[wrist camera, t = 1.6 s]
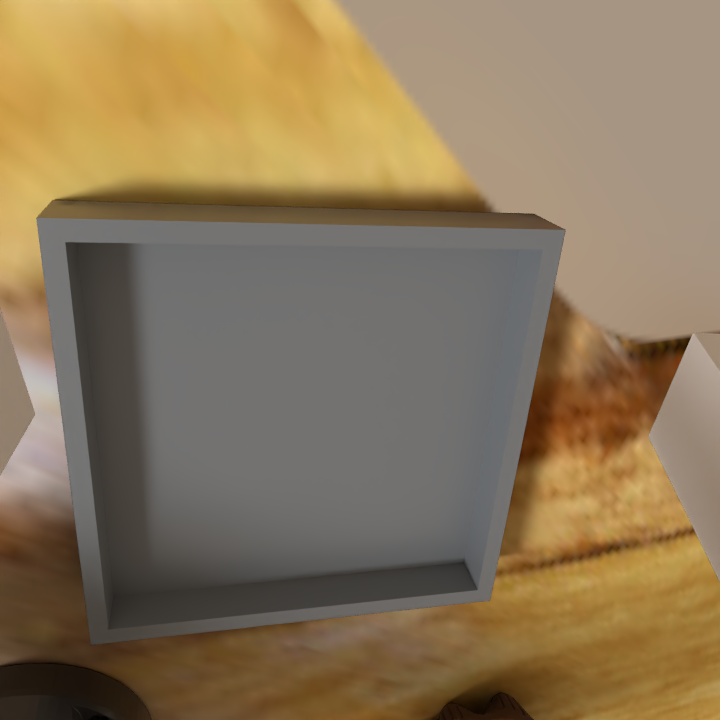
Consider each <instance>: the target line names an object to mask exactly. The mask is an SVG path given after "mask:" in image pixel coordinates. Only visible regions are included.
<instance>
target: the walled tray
mask: <svg viewBox="0 0 720 720" xmlns="http://www.w3.org/2000/svg"><path fill="white" fill-rule="evenodd" d="M36 219H37V226H38V234H39V242H40V250H41V258H42V266H43V274H44V281H45V289H46V297H47V305H48V313H49V321H50V329H51V337H52V344H53V352H54V360H55V368H56V376H57V384H58V392H59V399H60V407H61V415H62V423H63V431H64V439H65V447H66V455H67V462H68V470H69V478H70V486H71V494H72V502H73V510H74V517H75V525H76V533H77V541H78V549H79V557H80V565H81V573H82V580H83V588H84V596H85V604H86V612H87V620H88V628H89V636H90V643H91V645H96V644H105V643H114V642H123V641H132V640H141V639H150V638H159V637H168V636H177V635H186V634H195V633H204V632H213V631H222V630H231V629H240V628H249V627H258V626H266V625H275V624H284V623H293V622H302V621H311V620H320V619H329V618H338V617H347V616H356V615H365V614H374V613H383V612H392V611H401V610H410V609H419V608H428V607H437V606H446V605H455V604H464V603H473V602H482V601H490V599H491V594H492V589H493V584H494V579H495V574H496V569H497V564H498V559H499V554H500V550H501V545H502V540H503V535H504V530H505V525H506V520H507V515H508V510H509V505H510V500H511V495H512V491H513V486H514V481H515V476H516V471H517V466H518V461H519V456H520V451H521V446H522V441H523V437H524V432H525V427H526V422H527V417H528V412H529V407H530V402H531V397H532V392H533V387H534V383H535V378H536V373H537V368H538V363H539V358H540V353H541V348H542V343H543V338H544V333H545V329H546V324H547V319H548V314H549V309H550V304H551V299H552V294H553V289H554V284H555V279H556V274H557V269H558V264H559V260H560V255H561V250H562V245H563V240H564V235H565V229H563V228H561V227H559V226H557V225H555V224H553V223H551V222H549V221H547V220H545V219H543V218H541V217H539V216H537V215H535V214H522V213H488V212H453V211H418V210H382V209H347V208H312V207H277V206H242V205H207V204H172V203H137V202H102V201H66V200H52V202H51V203H50V204H49V205H48V206H47V207H46V208H45V209H44V210H43V211H42V212H41V213H40V215H39V216H38V217H37V218H36Z"/></svg>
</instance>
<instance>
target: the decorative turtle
mask: <svg viewBox="0 0 720 720" xmlns="http://www.w3.org/2000/svg"><path fill="white" fill-rule="evenodd" d="M439 720H533V719H532V718H531V717H530V715H529V714H528V713H527V712H526V711H525V710H524V709H523V708H522V707H521V706H520V705H519V704H518V703H517V702H516V701H515V699H514V698H512V697H511V696H509V695H508V694H505V693H500V694H497V695H496V696H495V697H494V698H493V700H492V701H491V703H490V705H489V707H488V709H487V711H486V713H485V714H475V713H473V712H471V711H469V710H467V709H465V708H464V707H462V706H460V705H457V704H454V703H449V704H447V705H446V706H445V707H444V708H443V709H442V711H441V715H440V719H439Z"/></svg>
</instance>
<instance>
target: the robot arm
mask: <svg viewBox="0 0 720 720" xmlns="http://www.w3.org/2000/svg"><path fill="white" fill-rule="evenodd" d="M34 416H35V412H34V409H33V406H32V403H31V400H30V397H29V394H28V391H27V388H26V385H25V382H24V378H23V375H22V372H21V369H20V366H19V363H18V360H17V357H16V354H15V351H14V348H13V345H12V342H11V339H10V336H9V333H8V330H7V327H6V324H5V321H4V318H3V315H2V312H1V309H0V475H1V473H2V471H3V470H4V468H5V466H6V464H7V463H8V461H9V459H10V457H11V456H12V454H13V452H14V450H15V449H16V447H17V445H18V443H19V442H20V440H21V438H22V436H23V435H24V433H25V431H26V429H27V428H28V426H29V424H30V422H31V421H32V419H33V417H34ZM648 437H649V439H650V441H651V443H652V445H653V447H654V449H655V451H656V453H657V455H658V457H659V459H660V461H661V463H662V465H663V467H664V469H665V471H666V473H667V476H668V478H669V480H670V482H671V484H672V486H673V488H674V490H675V492H676V494H677V496H678V498H679V500H680V502H681V504H682V506H683V508H684V510H685V512H686V514H687V516H688V518H689V520H690V522H691V524H692V526H693V528H694V530H695V533H696V535H697V537H698V539H699V541H700V543H701V545H702V547H703V549H704V551H705V553H706V555H707V557H708V559H709V561H710V563H711V565H712V567H713V569H714V571H715V573H716V575H717V577H718V579H719V581H720V334H710V333H693V335H692V337H691V339H690V342H689V344H688V346H687V349H686V351H685V353H684V356H683V358H682V360H681V362H680V365H679V367H678V369H677V372H676V374H675V376H674V379H673V381H672V383H671V386H670V388H669V390H668V392H667V395H666V397H665V399H664V402H663V404H662V406H661V409H660V411H659V413H658V416H657V418H656V420H655V423H654V425H653V427H652V429H651V432H650V434H649V436H648ZM0 720H151V717H150V715H149V713H148V711H147V709H146V707H145V706H144V704H143V703H142V702H141V700H140V699H139V698H138V697H137V696H136V695H135V694H134V693H133V692H132V691H131V690H129V689H128V688H127V687H125V686H124V685H122V684H121V683H119V682H117V681H116V680H114V679H112V678H110V677H107V676H105V675H103V674H100V673H97V672H94V671H91V670H87V669H83V668H79V667H74V666H68V665H59V664H23V665H15V666H8V667H2V668H0Z"/></svg>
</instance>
